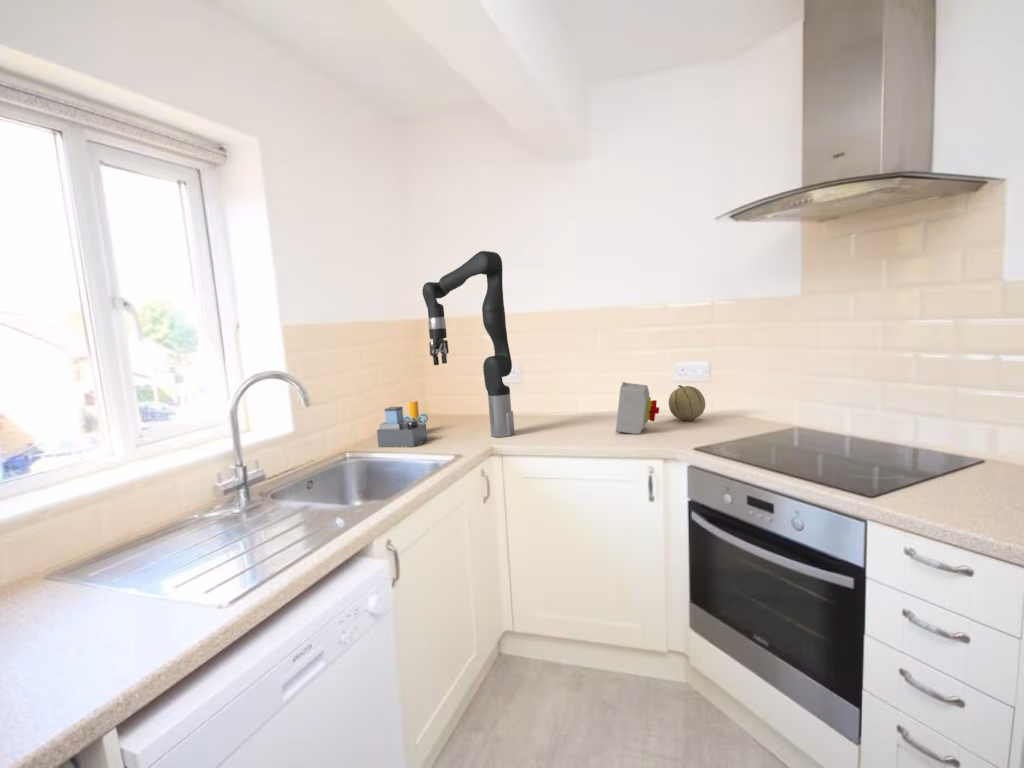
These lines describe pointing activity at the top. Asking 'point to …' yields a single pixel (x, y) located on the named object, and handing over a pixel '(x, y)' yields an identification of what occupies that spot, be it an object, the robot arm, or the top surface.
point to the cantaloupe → (686, 403)
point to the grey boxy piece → (401, 434)
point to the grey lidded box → (394, 415)
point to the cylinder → (415, 413)
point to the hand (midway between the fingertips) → (440, 364)
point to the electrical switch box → (635, 408)
